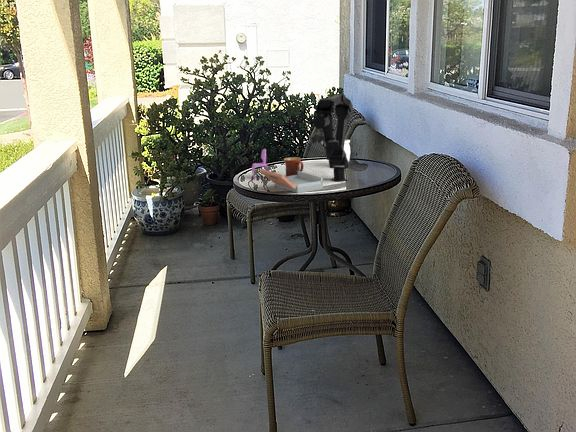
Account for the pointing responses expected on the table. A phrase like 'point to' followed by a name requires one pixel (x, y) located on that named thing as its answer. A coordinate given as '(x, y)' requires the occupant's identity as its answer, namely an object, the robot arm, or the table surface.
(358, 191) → the table surface
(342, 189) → the table surface
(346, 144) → the jar
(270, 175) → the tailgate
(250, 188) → the table surface
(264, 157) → the toy chair
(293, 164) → the mug
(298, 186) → the bed
